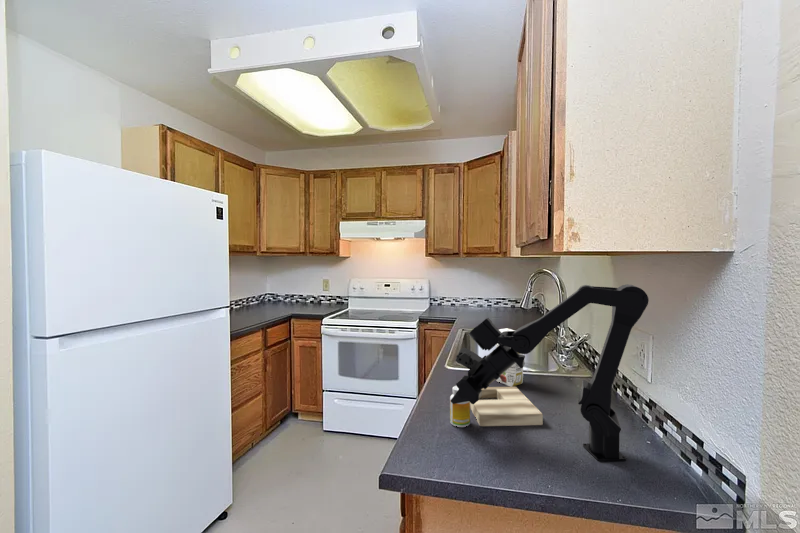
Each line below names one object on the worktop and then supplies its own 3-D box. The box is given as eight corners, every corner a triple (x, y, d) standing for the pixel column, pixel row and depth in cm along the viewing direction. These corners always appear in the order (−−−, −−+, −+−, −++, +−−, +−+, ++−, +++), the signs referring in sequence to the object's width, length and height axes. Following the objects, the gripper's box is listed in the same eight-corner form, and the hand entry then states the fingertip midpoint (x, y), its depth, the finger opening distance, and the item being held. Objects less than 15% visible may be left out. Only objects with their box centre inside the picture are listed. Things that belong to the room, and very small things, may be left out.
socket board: (542, 424, 93) (542, 413, 93) (480, 426, 93) (480, 415, 93) (515, 395, 113) (515, 386, 113) (464, 396, 113) (464, 387, 113)
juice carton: (512, 388, 120) (512, 333, 119) (492, 381, 127) (492, 329, 127) (525, 383, 124) (525, 331, 124) (506, 377, 131) (506, 327, 131)
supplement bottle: (474, 425, 93) (473, 389, 93) (456, 429, 91) (456, 392, 91) (463, 417, 98) (463, 383, 98) (446, 420, 96) (446, 386, 96)
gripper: (482, 333, 101) (446, 365, 106) (464, 347, 84) (422, 385, 89) (510, 363, 98) (471, 395, 103) (497, 385, 81) (452, 422, 86)
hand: (455, 398), depth 95 cm, fingers closed on supplement bottle, 5 cm apart
